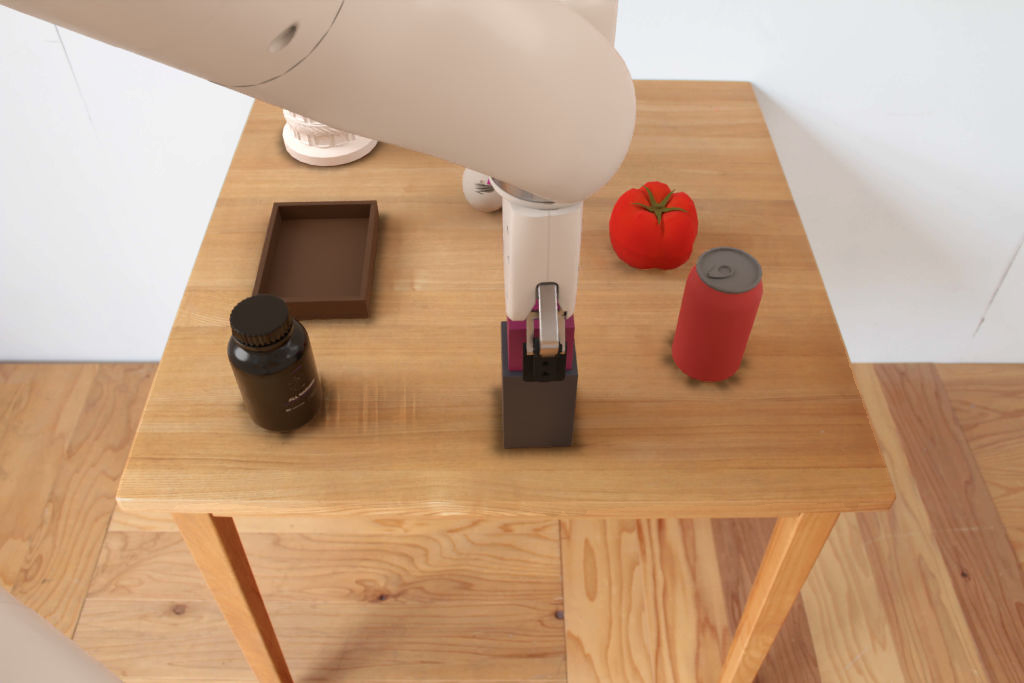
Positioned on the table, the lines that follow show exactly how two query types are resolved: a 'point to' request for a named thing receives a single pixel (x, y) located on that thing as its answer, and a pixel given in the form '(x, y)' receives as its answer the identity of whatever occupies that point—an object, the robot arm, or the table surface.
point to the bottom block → (536, 406)
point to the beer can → (717, 314)
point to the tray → (320, 258)
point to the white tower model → (322, 142)
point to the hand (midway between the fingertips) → (540, 330)
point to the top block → (518, 336)
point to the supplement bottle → (273, 364)
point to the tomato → (653, 227)
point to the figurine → (480, 191)
